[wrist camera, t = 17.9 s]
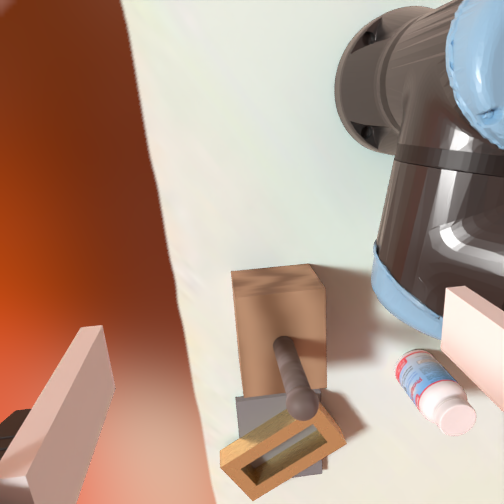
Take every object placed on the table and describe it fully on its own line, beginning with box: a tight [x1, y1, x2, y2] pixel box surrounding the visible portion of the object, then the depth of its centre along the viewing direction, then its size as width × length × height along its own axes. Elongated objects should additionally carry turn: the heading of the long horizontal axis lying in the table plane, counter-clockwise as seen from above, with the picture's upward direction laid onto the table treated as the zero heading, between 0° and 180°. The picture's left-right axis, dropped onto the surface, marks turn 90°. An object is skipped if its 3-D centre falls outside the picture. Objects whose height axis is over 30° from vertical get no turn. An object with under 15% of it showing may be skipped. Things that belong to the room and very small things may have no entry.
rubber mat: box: [235, 389, 322, 478], centre depth 60 cm, size 12×15×1 cm
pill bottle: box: [395, 350, 476, 436], centre depth 54 cm, size 6×6×11 cm
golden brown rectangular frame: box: [220, 402, 347, 501], centre depth 58 cm, size 8×16×3 cm, turn 124°
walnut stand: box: [231, 264, 327, 421], centre depth 45 cm, size 10×13×20 cm
